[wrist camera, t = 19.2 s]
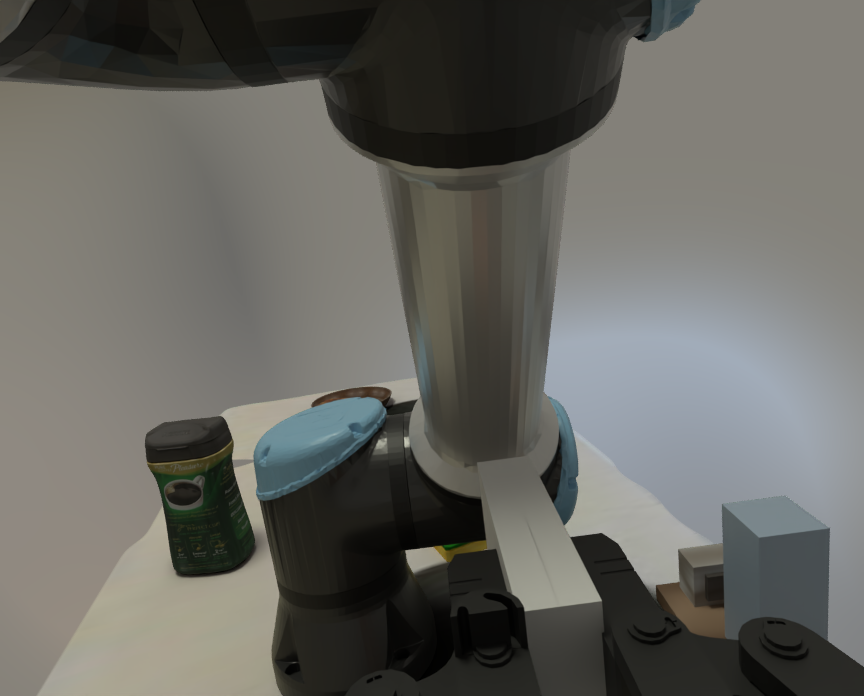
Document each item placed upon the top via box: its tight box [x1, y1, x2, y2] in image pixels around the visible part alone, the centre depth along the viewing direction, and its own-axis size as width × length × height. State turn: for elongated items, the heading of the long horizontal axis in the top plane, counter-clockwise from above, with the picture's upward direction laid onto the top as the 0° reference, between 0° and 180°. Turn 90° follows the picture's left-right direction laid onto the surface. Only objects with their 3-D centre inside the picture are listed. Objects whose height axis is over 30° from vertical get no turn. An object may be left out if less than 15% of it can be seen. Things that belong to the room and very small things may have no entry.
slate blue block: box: [722, 496, 830, 640], centre depth 44 cm, size 5×5×12 cm
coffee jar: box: [145, 416, 255, 574], centre depth 72 cm, size 10×8×19 cm
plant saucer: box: [311, 387, 392, 408], centre depth 129 cm, size 18×18×3 cm
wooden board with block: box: [656, 543, 727, 639], centre depth 47 cm, size 18×10×6 cm, turn 2°
